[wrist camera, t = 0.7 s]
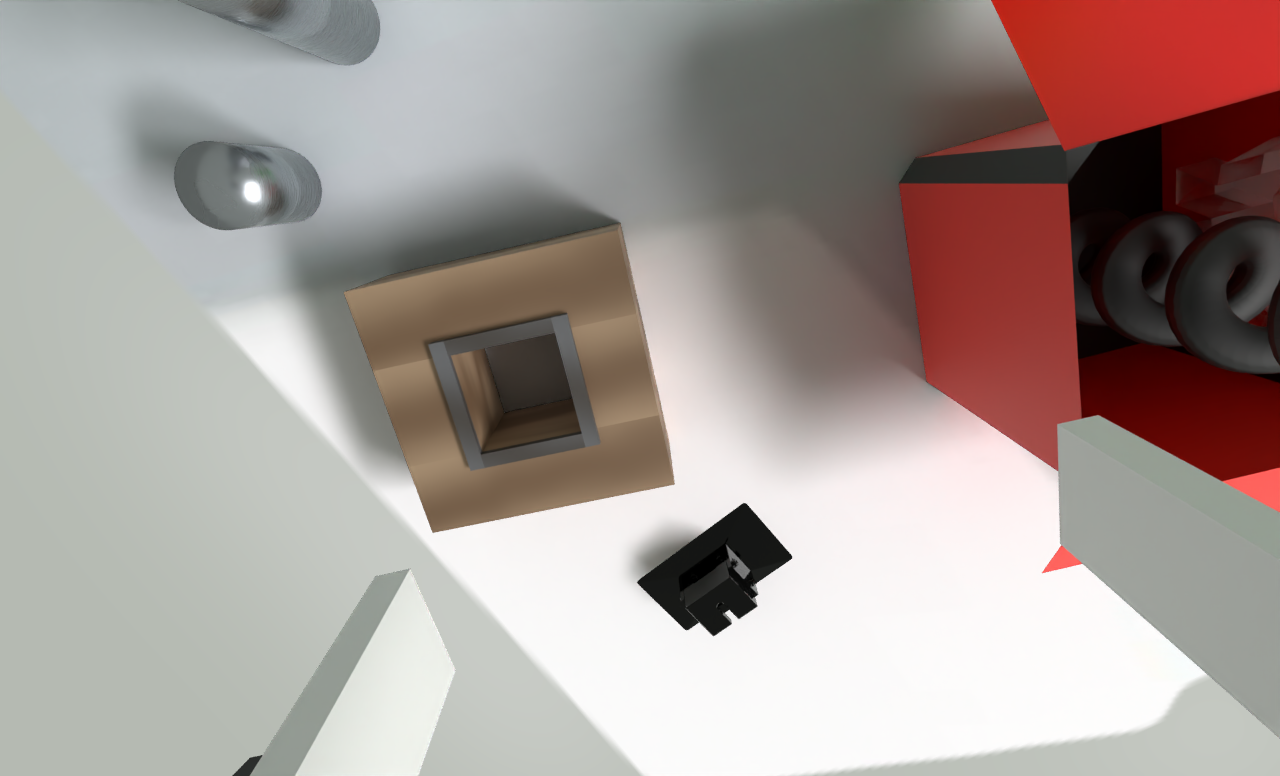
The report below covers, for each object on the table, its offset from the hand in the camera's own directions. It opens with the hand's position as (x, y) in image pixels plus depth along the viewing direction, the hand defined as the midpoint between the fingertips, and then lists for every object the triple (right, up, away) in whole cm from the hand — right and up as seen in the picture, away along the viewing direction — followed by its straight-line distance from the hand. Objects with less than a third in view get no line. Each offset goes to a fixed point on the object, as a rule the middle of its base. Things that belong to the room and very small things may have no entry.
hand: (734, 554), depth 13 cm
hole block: (-8, +5, +26) cm, 28 cm away
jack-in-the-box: (+22, +11, +24) cm, 34 cm away
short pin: (-22, +15, +22) cm, 35 cm away
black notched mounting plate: (+3, -9, +31) cm, 33 cm away
